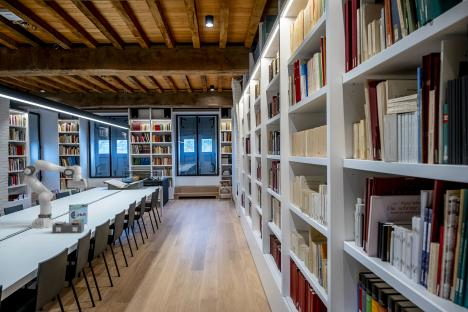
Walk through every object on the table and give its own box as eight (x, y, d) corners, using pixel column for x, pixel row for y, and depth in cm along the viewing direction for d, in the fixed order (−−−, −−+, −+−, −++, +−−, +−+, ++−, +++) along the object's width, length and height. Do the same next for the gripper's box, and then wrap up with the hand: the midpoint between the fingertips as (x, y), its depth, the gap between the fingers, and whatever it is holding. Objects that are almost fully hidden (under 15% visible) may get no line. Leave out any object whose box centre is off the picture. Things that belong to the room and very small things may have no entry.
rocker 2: (74, 223, 356) (74, 221, 357) (80, 223, 357) (80, 221, 358) (72, 222, 350) (72, 221, 350) (78, 222, 351) (78, 221, 351)
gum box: (86, 222, 401) (87, 203, 401) (87, 223, 397) (87, 204, 397) (68, 224, 391) (69, 204, 391) (69, 225, 386) (69, 205, 386)
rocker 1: (58, 223, 354) (58, 221, 355) (64, 223, 355) (64, 221, 356) (56, 223, 348) (56, 221, 348) (62, 223, 348) (62, 221, 349)
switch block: (52, 233, 345) (52, 223, 345) (55, 231, 356) (56, 221, 356) (80, 233, 349) (81, 223, 349) (84, 230, 360) (84, 221, 360)
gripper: (66, 179, 374) (66, 192, 374) (85, 179, 377) (85, 192, 377) (68, 179, 380) (68, 191, 380) (87, 179, 383) (87, 191, 383)
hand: (77, 191), depth 378 cm, fingers closed
